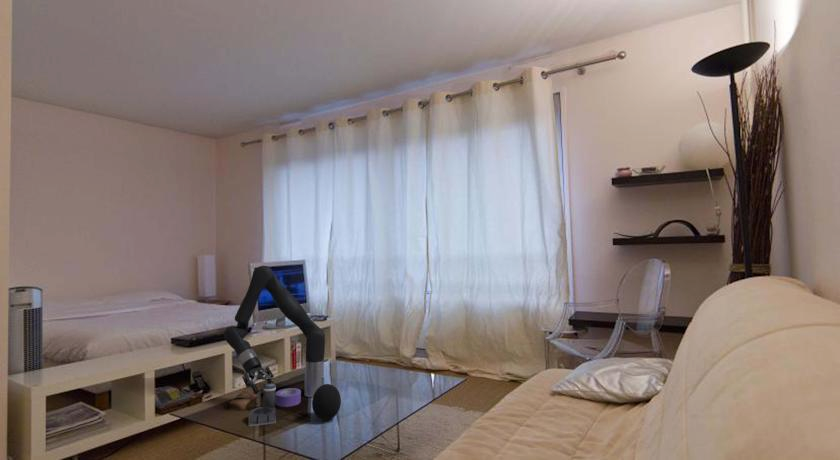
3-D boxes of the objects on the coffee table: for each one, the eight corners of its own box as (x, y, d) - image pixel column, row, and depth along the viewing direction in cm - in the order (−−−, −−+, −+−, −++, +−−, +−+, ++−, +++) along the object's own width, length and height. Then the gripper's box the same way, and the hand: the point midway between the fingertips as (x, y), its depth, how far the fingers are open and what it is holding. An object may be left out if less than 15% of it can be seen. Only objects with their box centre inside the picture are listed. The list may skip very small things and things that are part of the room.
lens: (274, 406, 191) (275, 382, 192) (275, 411, 186) (276, 386, 187) (262, 408, 189) (263, 383, 190) (262, 412, 184) (263, 387, 185)
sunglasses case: (245, 409, 187) (238, 396, 188) (231, 417, 187) (225, 404, 187) (260, 395, 205) (253, 383, 206) (247, 402, 205) (241, 390, 205)
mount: (274, 413, 184) (275, 405, 184) (276, 423, 174) (276, 414, 174) (248, 416, 180) (249, 408, 180) (248, 426, 170) (249, 417, 170)
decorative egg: (325, 427, 170) (327, 391, 171) (305, 420, 177) (306, 385, 178) (346, 418, 181) (347, 383, 182) (325, 411, 187) (327, 378, 188)
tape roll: (277, 408, 190) (277, 397, 190) (273, 400, 200) (273, 389, 201) (302, 404, 195) (303, 394, 196) (298, 396, 206) (298, 386, 206)
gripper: (241, 359, 188) (257, 389, 182) (265, 353, 201) (281, 381, 195) (232, 369, 191) (248, 399, 185) (257, 362, 203) (273, 390, 197)
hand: (265, 389), depth 190 cm, fingers open, 8 cm apart
